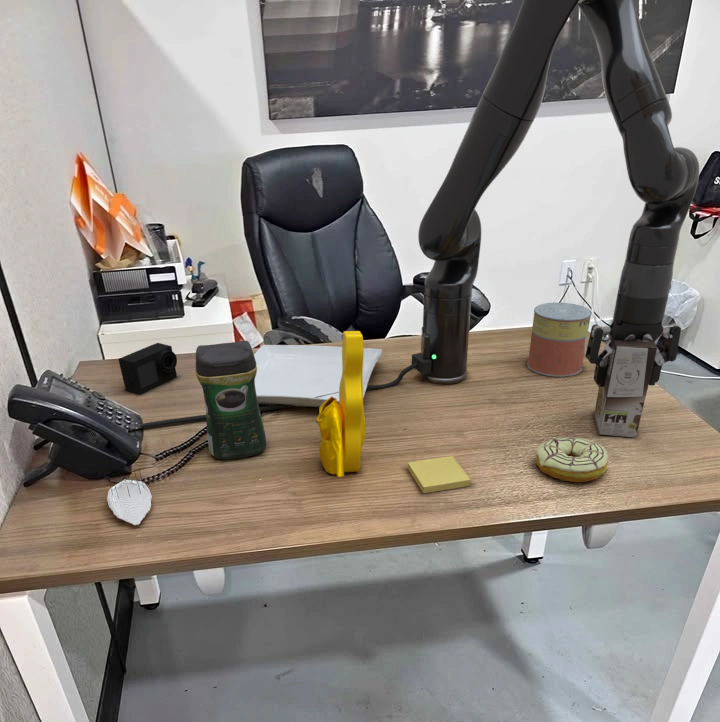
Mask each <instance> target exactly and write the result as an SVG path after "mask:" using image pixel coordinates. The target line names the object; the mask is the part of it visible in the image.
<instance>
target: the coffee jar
mask: <svg viewBox="0 0 720 722" xmlns="http://www.w3.org/2000/svg"><path fill="white" fill-rule="evenodd" d="M254 354H255V353H254V350H253V348H252V346H251V343H250V342H249V341H248V340H241V341H233V342H222V343H215V344H203V345H198V346H197V347H196V349H195V376H196V378H197V381H198V383H199V385H201V388H202V392H203V399H204V406H205V415H206V420H205V421H206V434H207V435H206V436H207V444H208V451H209V453H210V455H211V456H212V457H214V458H216V459H219V460H232V459H239V458H246V457H251V456H256V455H259V454H262V452H263V451H264V450H265V449H266V447H267V439H266V438H267V436H266V431H265V426H264V423H263V422H264V421H263V419H262V414H261V412H260V410H259V407H260V406H259V405H260V404H258V401H257V395H256V389H255V376H256V373H257V364H256V361H255V357H254Z"/></svg>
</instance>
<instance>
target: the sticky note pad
mask: <svg viewBox="0 0 720 722" xmlns="http://www.w3.org/2000/svg"><path fill="white" fill-rule="evenodd" d="M407 470H408V472H409V474H410V475H411V476H412V478H413V480H414V481H415V483H416V484H417V486H418V488H419V489H420V490H421V492H422V493H423V494H429V493H435V492H441V491H442V492H443V491H447V490H453V489H459V488H466V487H470V486H471V483H472V480H471V478H470V476H469V475H468V474H467V473H466V471H465V470H464V469H463V468H462V466H461V464H459V462H458V461H457V459H456V458H455V457H454V455H449V456H448V455H447V456H442V457H435V458H429V459H428V458H427V459H422V460H416V461H415V460H414V461H409V462H407Z"/></svg>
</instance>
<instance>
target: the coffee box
mask: <svg viewBox="0 0 720 722" xmlns="http://www.w3.org/2000/svg"><path fill="white" fill-rule="evenodd" d="M610 340H611V343H610V348H611V349H612V355H611V358H610V362H609V363H608V364H607V365H606V366H607V367H608V368H607V373H606V379H605V384H604V387H599V386H598V390H597V397H596V402H595V407H594V419H595V421H596V427H597V430H598V434H599V435H601V436H610V437H611V436H615V437H622V438H623V437H625V438H626V437H627V438H637V435H638V431H639V427H640V423H641V418H642V414H643V411H644V405H645V401H646V397H647V393H648V389H649V381H650V377H651V373H652V368H653V364H654V360H655V356H656V352H657V349H658V350H659V347H658V346H657V345H656V343H655V342H656V341H655V342H654V341H644V340H643V339H634V341H630V342H624V341H622V340H613V339H612V338H611V336H610V335H609V334H608V335H607V342H606V344H607V343H608V342H609V341H610Z"/></svg>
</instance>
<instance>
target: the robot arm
mask: <svg viewBox="0 0 720 722" xmlns="http://www.w3.org/2000/svg"><path fill="white" fill-rule="evenodd" d="M576 6H578V8H579V9H580V11H581V14H582V15H583V16H584V18H585V20H586V22H587V23H588V25H589V28H590V29H591V32H592V34H593V37H594V40H595V44H596V47H597V52H598V57H599V65H600V72H601V80H602V86H603V87H602V88H603V91H604V95H605V99H606V101H607V105H608V107H609V110H610V112H611V115H612V117H613V120H614V123H615V125H616V127H617V130H618V132H619V134H620V136H621V140H622V147H623V155H624V160H625V166H626V171H627V176H628V181H629V183H630V185H631V188H632V190H633V192H634V193H635V195H636V196H637V198H639V199H640V200H641V201H642V202H643V203H644V206H643V210H642V212H641V215H640V217H639V218H638V219H637V220H636V221H635V223H633V225H632V227H631V230H630V233H629V237H628V243H627V247H626V253H625V258H624V259H625V260H624V263H623V266H622V270H621V273H620V278H619V282H618V288H617V294H616V299H615V304H614V305H615V306H614V311H613V318H612V321H611V324H610V325H609V326H600V325H599V324H597V323H595V324H593V325H592V326H591V329H590V333H589V338H588V341H587V345H586V349H585V354H584V358H585V359H586V360H588V362H589V363H590V364H591V365H595V366H594V372H593V381H594V382H595V384H596V385H597V386H598V388H599V387H604V384H605V379H606V373H607V368H608V367H607V366H606V365H607V364H608V363H609V362H610V358H611V355H612V349H611V348H610V343H611V340H610V341H609V342H608V343H607V342H606V344H605V345H604V347H603V349H602V350H601V351H600V348H601V344H602V341H604V340H605V339H606V337H608V336H609V335H610V336H611V338H612V339H613V340H622V341H624V342H630V341H634V339H643V340H644V341H654V342H656V341H657V340H658V339H659V338H660V337H661V335H662V334H663V337H664V338H665V340H664V346H663V351H662V352H660V350H659V348H658V349H657V352H656V356H655V360H654V364H653V368H652V373H651V377H650V381H649V385H648V387H650V386H651V387H654V386H655V385H656V383H658V382H659V380H660V376H661V372H662V368H663V365H664V364H665V363H668V362H672V363H673V362H674V361H676V360H677V355H678V351H679V350H678V349H679V343H680V340H681V339H680V338H681V334H682V333H681V332H682V327H680V326H679V325H678V324H676V323H675V321H670V322H668V324H663V320H664V317H665V315H666V314H665V313H666V309H667V304H668V300H669V295H670V291H671V289H672V282H673V275H674V265H675V258H676V254H677V251H678V250H677V249H678V245H679V242H680V241H679V239H680V233H681V229H682V227H683V225H684V222H685V221H686V218H687V215H688V213H689V210H690V208H691V205H692V203H693V199H694V197H695V194H696V191H697V189H698V184H699V179H700V163H699V160H698V157H697V155H696V154H695V152H693V151H692V150H691V149H689V148H687V147H682V146H675V147H674V144H673V139H672V136H671V133H670V129H669V125H670V124H671V121H672V119H673V112H672V108H671V104H670V101H669V99H668V96H667V94H666V90H665V88H664V86H663V83H662V81H661V78H660V75H659V73H658V70H657V67H656V65H655V62H654V60H653V57H652V54H651V52H650V49H649V47H648V43H647V41H646V38H645V35H644V32H643V29H642V26H641V22H640V18H639V14H638V11H637V8H636V3H635V0H522V3H521V6H520V8H519V11H518V14H517V17H516V19H515V22H514V24H513V26H512V29H511V31H510V33H509V36H508V38H507V40H506V42H505V44H504V45H503V49H502V51H501V53H500V55H499V58H498V59H497V62H496V65H495V66H494V69H493V71H492V74H491V76H490V77H489V80H488V82H487V84H486V86H485V88H484V90H483V92H482V94H481V97H480V99H479V101H478V103H477V106H476V108H475V110H474V112H473V115H472V117H471V119H470V122H469V124H468V126H467V128H466V131H465V133H464V135H463V138H462V140H461V141H460V143H459V146H458V149H457V151H456V153H455V154H454V158H453V160H452V162H451V165H450V167H449V170H448V172H447V174H446V176H445V177H444V180H443V181H442V183H441V185H440V186H439V188H438V190H437V192H436V194H435V196H434V198H433V199H432V201H431V202H430V204H429V205H428V208H427V209H426V211H425V213H424V215H423V217H422V219H421V220H420V223H419V227H418V232H417V233H418V234H417V235H418V236H417V239H418V245H419V248H420V250H421V252H422V253H423V255H424V256H425V257H426V258H428V259H429V260H432V261H434V263H433V265H432V268H431V269H430V271H429V273H428V274H427V275H426V277H425V279H424V282H423V309H422V311H423V314H422V326H421V337H420V342H421V343H420V352H417V353H413V354H411V364H410V365H408V366H406V367H405V368H404V369H402V370H401V371H400V373H399V374H398V376H397V377H396V379H394V380H392V381H391V382H388V383H383V384H371V385H369V384H368V385H367V388H366V391H375V390H376V391H377V390H383V389H387V388H391V387H394V386H396V385H398V384H399V383H401V382H402V380H403V378H404V376H405V375H407V373H409V372H411V371H412V370H414V369H415V370H416V371H417V372H419V373H420V377H421V380H422V382H428V383H429V382H430V383H434V384H439V385H440V384H442V385H443V384H444V385H450V384H456V383H460V382H462V381H464V380H465V379H466V378H467V374H468V373H467V372H468V371H467V369H468V352H469V351H468V350H469V338H470V322H471V311H472V310H471V309H472V295H473V285H474V283H475V281H476V278H477V276H478V271H479V263H480V262H479V261H480V253H481V245H482V244H481V243H482V223H481V218H480V216H479V213H478V212H477V210H476V207H477V205H478V203H479V201H480V200H481V198H482V197H483V195H484V194H485V192H486V191H487V189H488V188H489V187H490V185H492V184H493V182H494V181H495V180H496V178H497V177H498V176H499V175H500V174H501V172H502V171H503V170H504V169H505V167H507V165H509V163H510V161H511V160H512V159H513V158H514V157H515V155H516V153H517V152H518V150H519V149H520V147H521V145H522V144H523V142H524V141H525V139H526V137H527V134H528V133H529V131H530V129H531V127H532V125H533V123H534V121H535V119H536V118H537V115H538V113H539V110H540V108H541V105H542V104H543V103H542V102H543V99H544V95H545V91H546V87H547V81H548V75H549V69H550V64H551V60H552V56H553V52H554V49H555V47H556V44H557V43H558V40H559V38H560V36H561V34H562V31H563V30H564V28H565V26H566V24H567V23H568V21H569V18H570V17H571V15H572V13H573V12H574V10H575V8H576ZM336 393H339V392H336ZM332 394H334V393H332ZM327 395H330V394H327ZM322 396H326V395H322ZM322 396H318V397H322ZM318 397H314V398H318ZM290 407H297V406H296V405H288V404H275V405H262V406H259V410H260V413H263V412H268V411H275V410H281V409H285V408H290ZM204 420H205V421H206V414H201V415H192V416H184V417H178V418H170V419H163V420H157V421H150V422H144V423H143V425H142V429H149V428H155V427H161V426H168V425H169V426H170V425H175V424H176V425H177V424H184V423H191V422H199V421H204ZM142 429H141V430H142Z"/></svg>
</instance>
